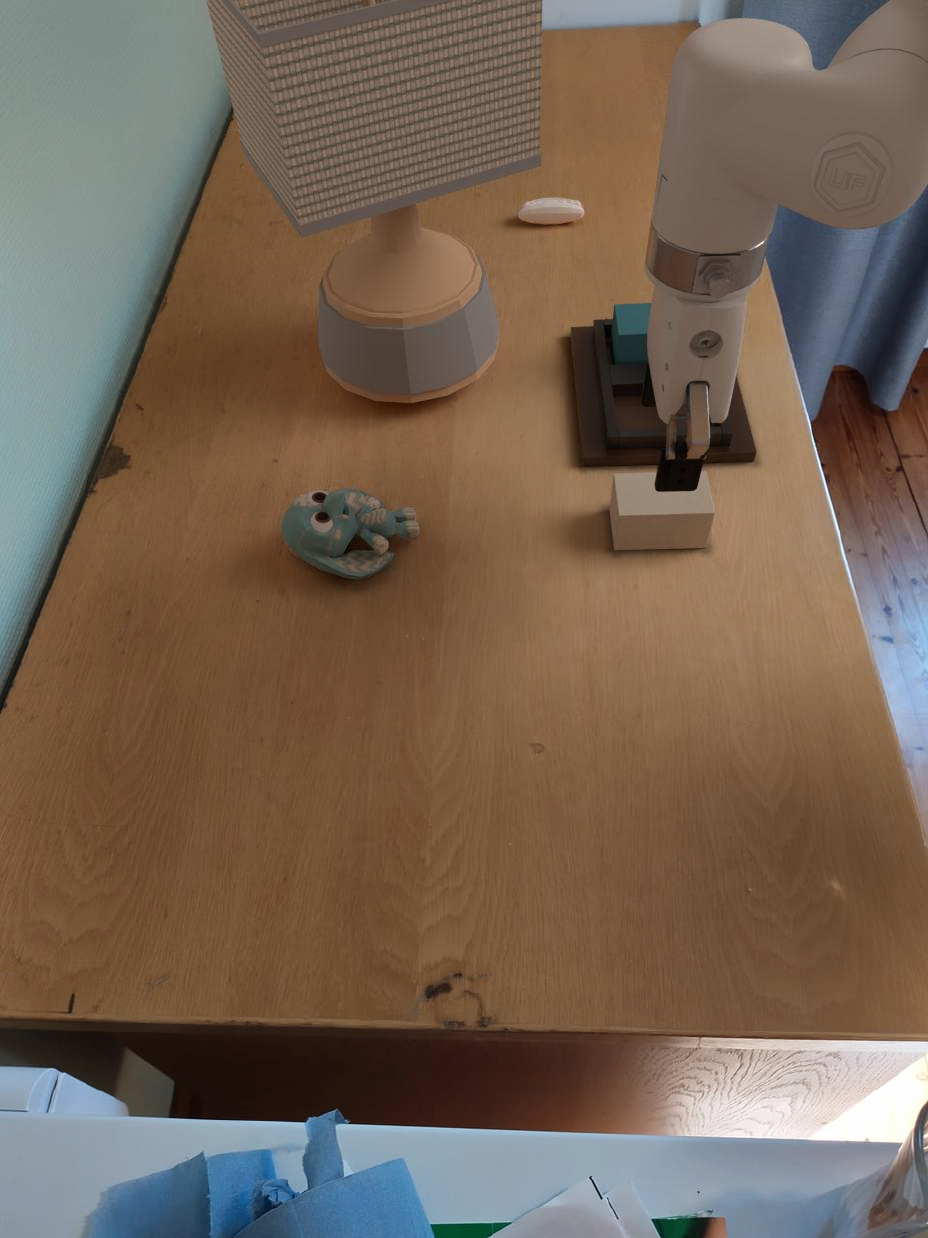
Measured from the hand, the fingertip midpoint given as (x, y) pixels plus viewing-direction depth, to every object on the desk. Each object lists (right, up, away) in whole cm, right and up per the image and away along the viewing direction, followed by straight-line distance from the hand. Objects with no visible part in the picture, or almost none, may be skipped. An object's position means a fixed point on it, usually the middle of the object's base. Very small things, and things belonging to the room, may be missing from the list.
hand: (667, 444), depth 71 cm
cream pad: (+1, -6, +8) cm, 10 cm away
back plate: (+3, +9, +18) cm, 21 cm away
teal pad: (+3, +13, +20) cm, 24 cm away
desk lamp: (-22, +14, +24) cm, 35 cm away
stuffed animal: (-26, -7, +9) cm, 28 cm away
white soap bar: (-6, +35, +38) cm, 52 cm away
